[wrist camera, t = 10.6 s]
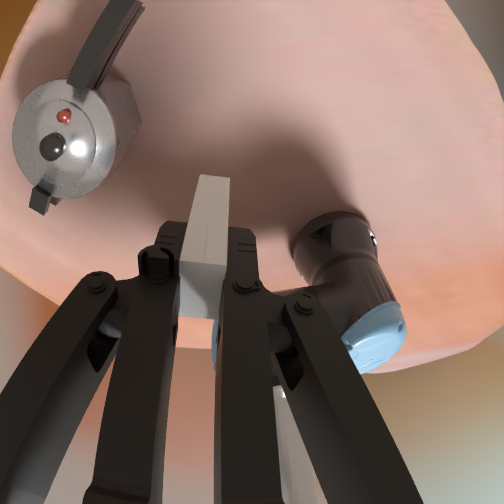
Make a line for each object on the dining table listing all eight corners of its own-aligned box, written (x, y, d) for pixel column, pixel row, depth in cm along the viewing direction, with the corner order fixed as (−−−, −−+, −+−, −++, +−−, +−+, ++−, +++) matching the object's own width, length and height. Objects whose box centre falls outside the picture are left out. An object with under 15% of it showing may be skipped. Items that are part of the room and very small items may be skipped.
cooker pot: (106, 197, 45) (86, 228, 38) (36, 159, 40) (7, 184, 33) (198, 31, 31) (187, 27, 24) (108, -8, 25) (78, -16, 18)
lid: (86, 228, 38) (78, 241, 36) (4, 181, 32) (-7, 191, 30) (194, 27, 24) (190, 26, 21) (80, -21, 18) (68, -25, 15)
